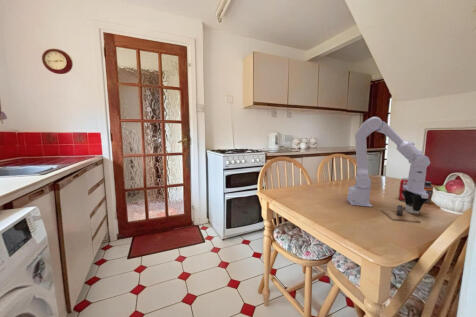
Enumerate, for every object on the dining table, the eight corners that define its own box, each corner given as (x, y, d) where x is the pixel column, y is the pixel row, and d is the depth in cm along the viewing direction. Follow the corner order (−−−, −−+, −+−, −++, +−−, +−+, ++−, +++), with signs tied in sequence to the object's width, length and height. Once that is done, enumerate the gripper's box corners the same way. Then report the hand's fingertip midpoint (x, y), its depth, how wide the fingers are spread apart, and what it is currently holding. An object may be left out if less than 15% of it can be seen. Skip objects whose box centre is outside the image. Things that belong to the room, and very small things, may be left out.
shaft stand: (392, 220, 81) (393, 208, 81) (380, 210, 91) (382, 200, 90) (420, 222, 79) (421, 211, 78) (405, 213, 88) (407, 202, 88)
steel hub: (408, 213, 89) (409, 206, 88) (402, 208, 93) (403, 203, 93) (421, 214, 87) (422, 208, 87) (414, 209, 92) (415, 204, 92)
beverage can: (416, 202, 102) (419, 180, 100) (402, 202, 103) (405, 180, 101) (408, 199, 108) (411, 178, 106) (395, 198, 109) (398, 177, 107)
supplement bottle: (418, 202, 102) (421, 182, 100) (413, 199, 107) (416, 179, 106) (433, 204, 99) (436, 183, 98) (427, 200, 105) (430, 180, 103)
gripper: (438, 184, 80) (434, 215, 82) (416, 177, 94) (412, 203, 96) (418, 183, 82) (414, 213, 84) (399, 176, 96) (396, 202, 98)
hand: (412, 208), depth 90 cm, fingers closed on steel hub, 5 cm apart
